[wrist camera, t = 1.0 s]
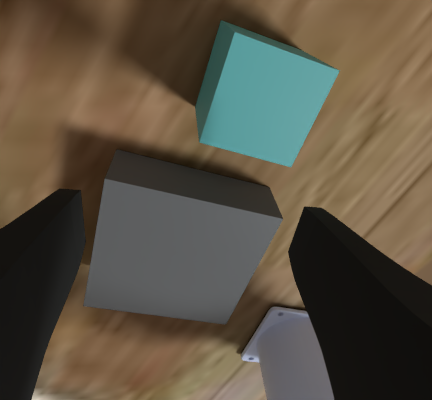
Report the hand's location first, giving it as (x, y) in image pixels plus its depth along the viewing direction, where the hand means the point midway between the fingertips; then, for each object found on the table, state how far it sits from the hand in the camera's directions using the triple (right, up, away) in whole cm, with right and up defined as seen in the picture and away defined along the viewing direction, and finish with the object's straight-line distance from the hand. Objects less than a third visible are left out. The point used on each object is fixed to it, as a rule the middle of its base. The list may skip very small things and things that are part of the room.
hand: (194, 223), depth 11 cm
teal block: (+2, +7, +7) cm, 10 cm away
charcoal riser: (-2, -1, +12) cm, 12 cm away
